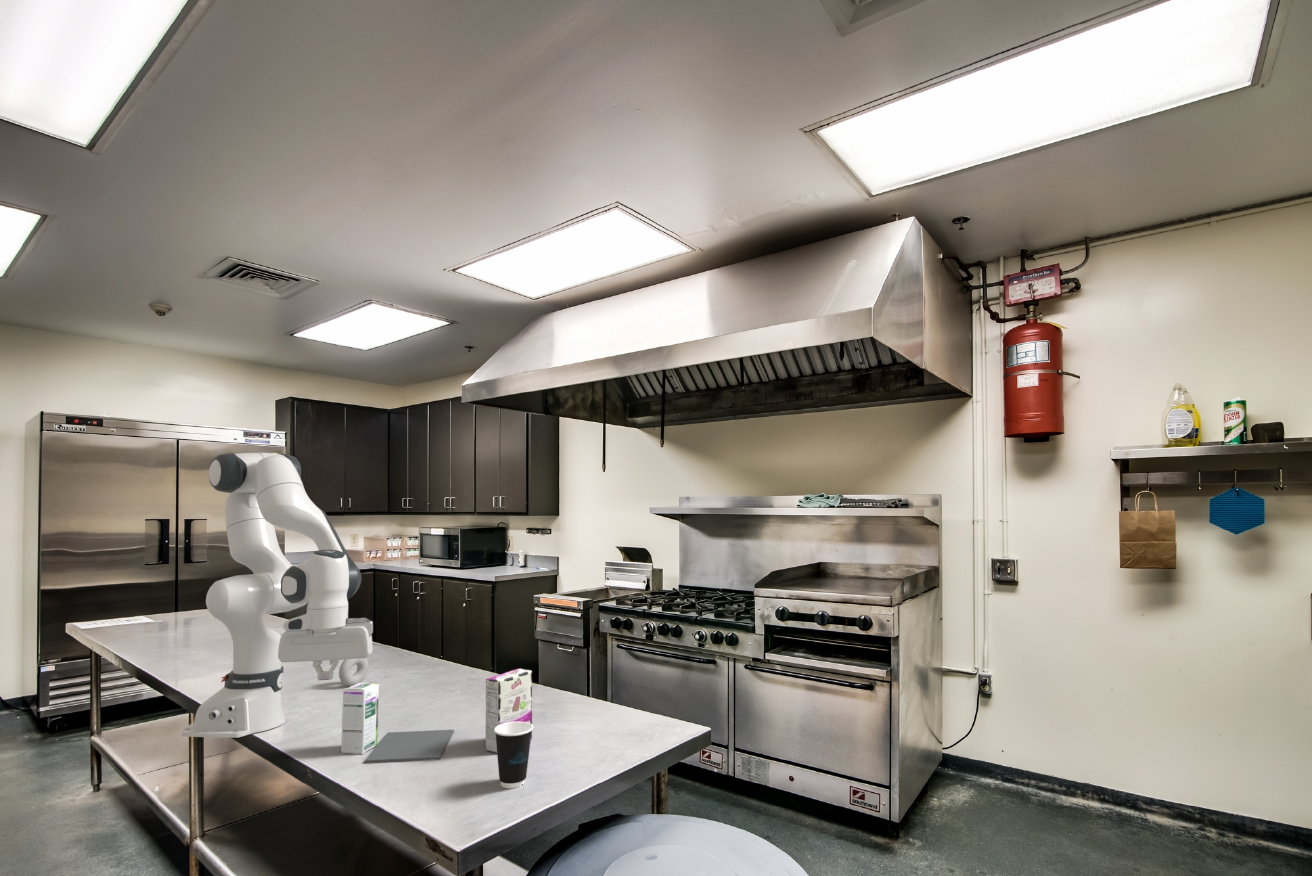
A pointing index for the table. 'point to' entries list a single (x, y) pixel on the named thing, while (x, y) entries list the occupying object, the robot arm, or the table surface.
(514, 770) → the dixie cup
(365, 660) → the donut
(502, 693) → the candy bar box
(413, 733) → the mat
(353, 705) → the syrup box
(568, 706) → the table surface
